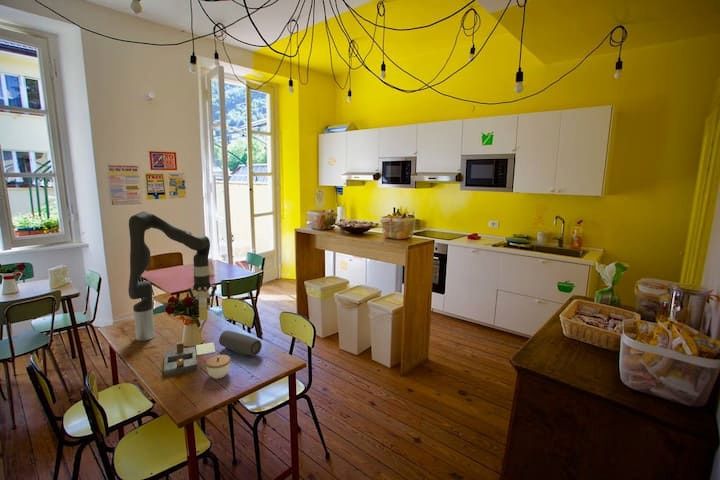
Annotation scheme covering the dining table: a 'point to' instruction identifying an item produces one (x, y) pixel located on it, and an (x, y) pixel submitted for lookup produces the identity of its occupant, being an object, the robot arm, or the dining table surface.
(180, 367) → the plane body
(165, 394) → the dining table surface
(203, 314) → the candy box
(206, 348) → the felt pad
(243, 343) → the bluetooth speaker
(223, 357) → the lidded jar
